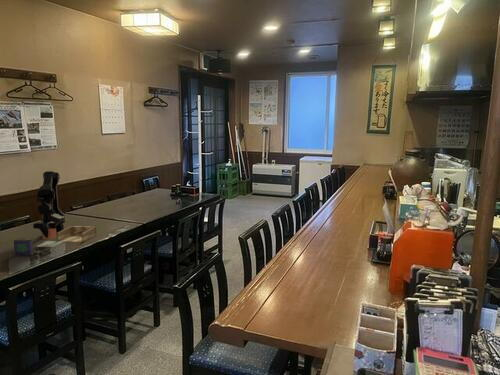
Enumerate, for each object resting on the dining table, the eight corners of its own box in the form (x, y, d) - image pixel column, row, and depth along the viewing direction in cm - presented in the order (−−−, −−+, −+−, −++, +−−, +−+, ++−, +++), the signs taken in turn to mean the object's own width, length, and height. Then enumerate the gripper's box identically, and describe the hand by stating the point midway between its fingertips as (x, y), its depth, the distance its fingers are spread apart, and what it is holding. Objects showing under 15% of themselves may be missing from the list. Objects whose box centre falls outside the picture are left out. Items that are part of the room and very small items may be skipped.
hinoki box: (57, 242, 212) (57, 232, 211) (72, 235, 226) (71, 226, 225) (83, 243, 211) (83, 233, 210) (96, 235, 225) (95, 226, 224)
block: (42, 238, 203) (42, 230, 203) (48, 236, 208) (47, 227, 208) (51, 239, 203) (50, 230, 202) (56, 236, 208) (55, 228, 207)
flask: (34, 254, 192) (32, 235, 190) (31, 256, 189) (29, 236, 188) (16, 254, 191) (14, 235, 190) (13, 256, 189) (11, 237, 187)
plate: (36, 248, 202) (36, 246, 202) (47, 242, 212) (47, 240, 212) (53, 248, 201) (53, 247, 201) (63, 243, 211) (63, 241, 211)
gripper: (50, 214, 193) (53, 241, 196) (70, 206, 212) (72, 232, 214) (31, 213, 194) (33, 241, 197) (52, 206, 212) (54, 231, 215)
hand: (49, 236), depth 206 cm, fingers closed on block, 5 cm apart
